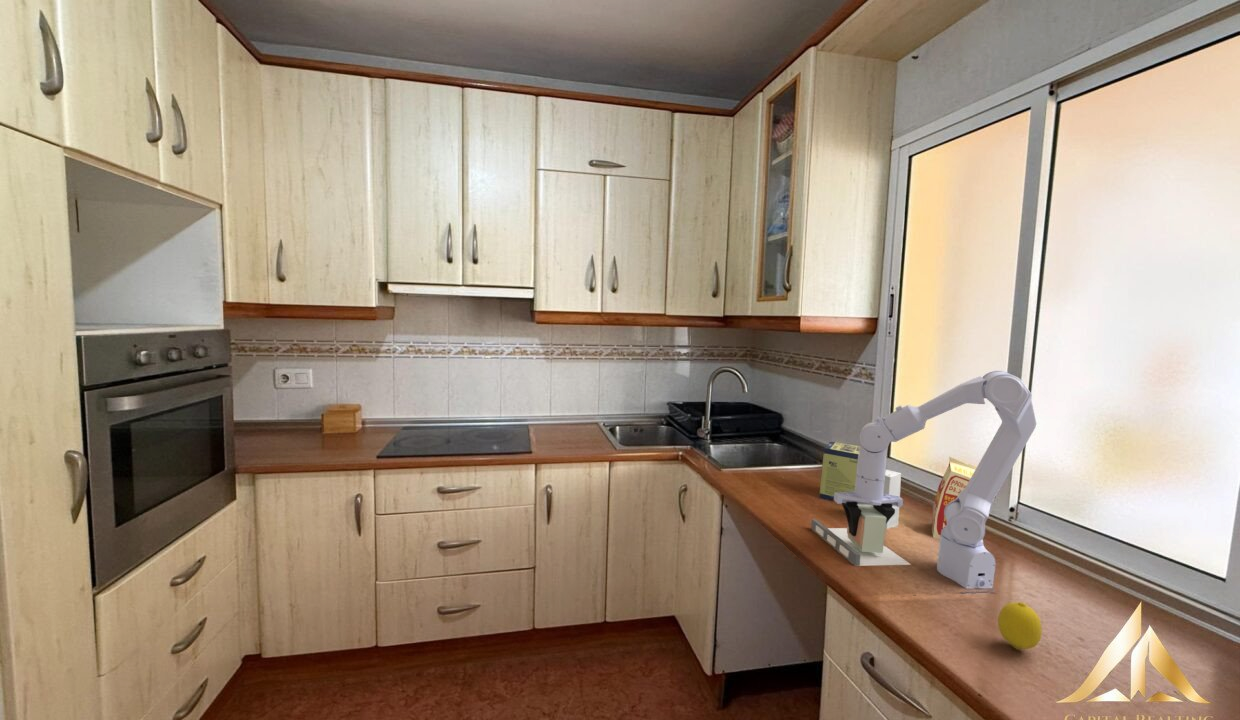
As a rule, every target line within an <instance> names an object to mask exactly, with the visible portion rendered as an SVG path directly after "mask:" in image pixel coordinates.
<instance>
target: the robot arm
mask: <svg viewBox="0 0 1240 720" xmlns="http://www.w3.org/2000/svg"><path fill="white" fill-rule="evenodd" d="M1032 396H1033V395H1032V393H1031V391H1030V390H1029V387H1027V386H1026V384H1025V383H1024V381H1022V379H1021V378H1019V377H1018V376H1015V375H1013V374H1011V373H1009V372H1007V371H1003V370H993V371H989V372H988V373H985V374H984V375H982V376H977V377H975V378H974V377H973V378H972V379H970V380H967V381H965V382H962V383H960V384H959V385H957V386H954V387H953V388H950V389H949V390H947V391H945V392H943V393H942V394H939V395H938V396H935V397H934V398H933V399H930V400H928V401H927V402H924V403H923V404H921V405H919V406H913V405H910V404H907V405H905V406H902V405H901V404H900V405H898V406H897V407H895V411H893V412H891V413H888V414H886V415H885V416H882V417H880V416H877V417H876V418H875V419H874V421H875V422H868V423H867V424H865V425H864V426H863V427H862V428H861V430H860V433H859V443H860V445H859V446H860V447H859V452H860V453H859V454H858V462H857V472H856V483H855V491H851V492H839V493H837V492H835V493H834V501H835V503H836V504H838V505H842V508H843V510H844V513H845V516H846V519H847V526H849V533H850V534H851V535H852V536H856V533H857V528H858V521H859V517H860V514H861V512H862V511H861V510H860V509H859V508H858V505H857V504H872V505H873V508H875V509H876V510H877V511H879V512H880V513H881V514H882V515H884V516H885V517H886V524H887V522H888V521H889V519H890V518H891V517H892V516H893V515H894V514H895V509H894V508H892V506H897V507H899V508H903V504H904V503H903V501H904V499H903V498H902V497H901V496H900V497H899V496H894V495H887V494H883V491H884V482H885V472H886V470H887V463H888V462H887V461H888V459H887V457H886V456H887V449H888V447H889V445H890V443H892V442H893V443H897V442H898V441H901V440H903V439H905V438H907V437H909V436H912V435H913V434H915V433H918V432H920V431H922V430H925V428H926V423H927V421H928V420H931V419H933V418H935V417H938V416H940V415H943V414H944V413H946V412H949V411H951V410H953V409H956V408H958V407H961V406H963V405H965V404H971V405H972V404H974V405H976V404H977V405H985V404H986V402H985V399H986V400H987V401H988V402H989V403H991V404H992V405H993V407H994V409H995V411H996V412H997V415H998V416H999V419H1000V420H1001V424H1000V425H999V427H998V429H997V431H996V432H995V434H994V436H993V438H992V439H991V442H990V443H989V445H988V447H987V448H986V451H985V452H984V454H983V456H982V458H981V459H980V461H979V463H978V465H976V466H977V468H976V470H975V472H974V473H973V475H972V477H971V479H970V480H969V482H968V484H967V486H966V488H965V489H964V490H963V491H961V492H960V493H959V495H958V497H957V498H956V499H955V500H954V501H952V502H950V503H949V504H947V506H946V507H945V510H944V516H945V519H946V521H947V526H946V527H945V528H944V529H942V530H941V537H940V539H939V547H938V554H937V555H938V557H937V563H936V564H937V565H936V570H937V571H938V572H939V574H940V575H942V576H943V577H946V578H948V579H950V580H952V581H954V582H956V583H957V584H958V585H959V586H961V587H963V588H964V589H966V590H972V589H976V590H977V589H979V591H960V592H959V593H960V594H981V593H982V594H984V593H985V594H986V593H996V592H997V591H996V590H985V591H983V590H981V591H980V589H993V588H994V579H995V574H996V573H995V572H996V563H997V562H996V559H995V556H994V555H993V554H992V553H991V552H990V551H988V550H987V549H986V547H985V546H984V540H983V539H984V537H985V535H986V526H985V525H986V523H987V520H988V518H989V516H990V511H991V505H992V503H993V502H994V500H995V498H996V496H997V494H998V493H999V491H1000V489H1001V488H1002V486H1003V484H1004V483H1005V481H1006V479H1007V477H1008V476H1009V473H1010V472H1011V470H1012V469H1013V468H1014V465H1015V463H1016V462H1017V460H1018V459H1019V456H1020V455H1021V453H1022V451H1023V450H1024V448H1025V446H1026V445H1027V443H1028V441H1029V440H1030V437H1032V435H1033V432H1034V431H1035V429H1036V427H1037V420H1036V419H1037V418H1036V413H1035V410H1034V405H1033V401H1032V399H1033V398H1032ZM834 501H833V502H834Z"/></svg>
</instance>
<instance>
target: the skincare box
mask: <svg viewBox="0 0 1240 720" xmlns="http://www.w3.org/2000/svg"><path fill="white" fill-rule="evenodd" d="M901 481H902V473H901V472H898V471H894V470H890V469H886V472H885V482H884V491H883V494H887V495H894V496H899V497H901V483H902V482H901ZM858 505H871V506H872V507H873V505H872V504H858ZM892 508H894V509H895V514H894V515H893V516H892V517H891V518H890V519H889V521H888V522H887V524H886V528H885V530H889V529H892V528H894V527H897V526H899V519H900V517H899V516H900V507H897V506H892Z"/></svg>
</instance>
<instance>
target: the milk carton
mask: <svg viewBox="0 0 1240 720" xmlns="http://www.w3.org/2000/svg"><path fill="white" fill-rule="evenodd" d="M948 459H949V460H948V461H949V463H948V467H947V468H946V470H945V472H944V474H943V476H942V478H941V480H940V482H939V485H938V487H937V492H936V495H935V498H934V503H933V506H932V519H931V531H932V532H931V533H932V537H933V538H934V539H939V540H940V537H941V530H942V529H944V528H945V527H946V526H947V521H946V519H945V516H944V510H945V507H946V506H947V504H949V503H950V502H952V501H954V500H955V499H956V498H957V497H958V495H959V493H960V492H961V491H963V490H964V489H965V488H966V486H967V484H968V482H969V480H970V479H971V477H972V475H973V473H974V472H975V470H976V468H977V466H978V465H975V464H971V463H966V462H964V461H962V460H959V459H957V458H954V457H952V456H949V457H948Z"/></svg>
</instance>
